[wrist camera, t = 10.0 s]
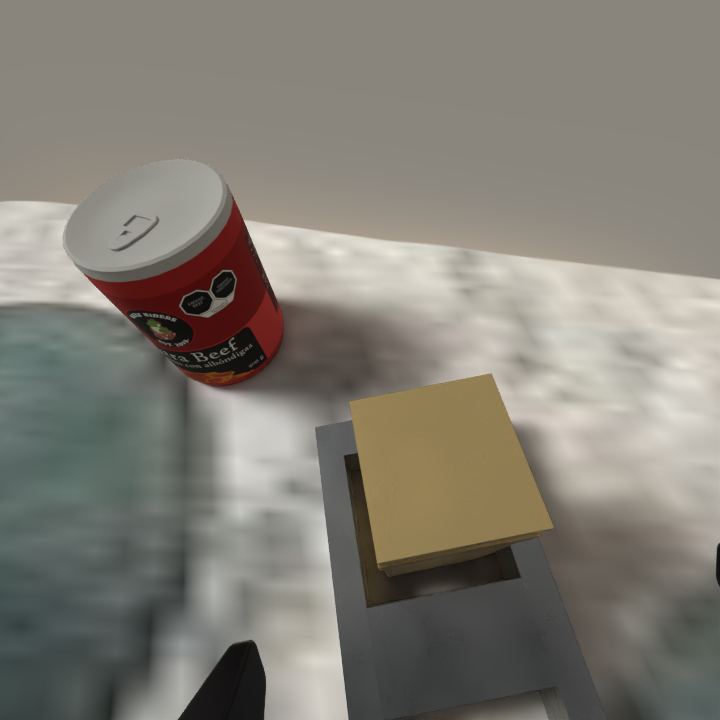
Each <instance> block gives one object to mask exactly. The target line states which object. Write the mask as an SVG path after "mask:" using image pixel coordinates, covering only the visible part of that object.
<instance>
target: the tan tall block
mask: <svg viewBox="0 0 720 720" xmlns="http://www.w3.org/2000/svg"><path fill="white" fill-rule="evenodd" d="M349 404H350V410H351V416H352V421H353V427H354V433H355V439H356V444H357V450H358V456H359V462H360V468H361V473H362V479H363V485H364V491H365V496H366V502H367V508H368V514H369V519H370V525H371V531H372V537H373V542H374V548H375V554H376V560H377V565H378V569H379V570H383V571H384V572H385V573H386V574H387V575H388V577H390V576H395V575H400V574H405V573H410V572H415V571H420V570H425V569H430V568H434V567H439V566H444V565H449V564H454V563H459V562H464V561H469V560H474V559H478V558H481V557H483V556H486V555H488V554H491V553H493V552H496V551H498V550H501V549H503V548H505V547H508V546H510V545H513V544H515V543H518V542H523V541H528V540H531V539H534V538H536V537H539V536H541V533H542V532H545V531H547V530H550V529H552V528H554V527H553V524H552V522H551V519H550V517H549V514H548V512H547V509H546V507H545V504H544V502H543V499H542V497H541V494H540V492H539V490H538V487H537V485H536V482H535V480H534V477H533V475H532V472H531V470H530V467H529V465H528V462H527V460H526V457H525V455H524V453H523V450H522V448H521V445H520V443H519V440H518V438H517V435H516V433H515V430H514V428H513V425H512V423H511V420H510V418H509V416H508V413H507V411H506V408H505V406H504V403H503V401H502V398H501V396H500V393H499V391H498V388H497V386H496V383H495V381H494V378H493V376H492V374H486V375H481V376H476V377H471V378H466V379H461V380H456V381H451V382H446V383H440V384H435V385H430V386H425V387H420V388H415V389H410V390H405V391H400V392H395V393H390V394H385V395H379V396H374V397H369V398H364V399H359V400H354V401H349Z"/></svg>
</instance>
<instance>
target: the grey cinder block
mask: <svg viewBox="0 0 720 720" xmlns="http://www.w3.org/2000/svg"><path fill="white" fill-rule="evenodd" d="M315 430H316V439H317V448H318V456H319V465H320V474H321V482H322V491H323V500H324V509H325V517H326V526H327V535H328V543H329V552H330V561H331V569H332V578H333V587H334V596H335V604H336V613H337V622H338V630H339V639H340V648H341V656H342V665H343V674H344V682H345V691H346V700H347V709H348V717H349V720H393V719H398V718H403V717H408V716H412V715H417V714H422V713H427V712H432V711H437V710H442V709H447V708H452V707H457V706H462V705H467V704H472V703H477V702H482V701H487V700H491V699H496V698H501V697H506V696H511V695H516V694H521V693H526V692H531V691H536V690H540V693H541V696H542V699H543V702H544V705H545V708H546V711H547V715H548V718H549V720H607V719H606V717H605V714H604V711H603V709H602V706H601V704H600V701H599V698H598V696H597V693H596V690H595V688H594V685H593V682H592V680H591V677H590V674H589V672H588V669H587V666H586V664H585V661H584V658H583V656H582V653H581V650H580V648H579V645H578V642H577V640H576V637H575V634H574V632H573V629H572V627H571V624H570V621H569V619H568V616H567V613H566V611H565V608H564V605H563V603H562V600H561V597H560V595H559V592H558V589H557V587H556V584H555V581H554V579H553V576H552V573H551V571H550V568H549V565H548V563H547V560H546V557H545V555H544V552H543V550H542V547H541V544H540V542H539V539H538V537H536V538H534V539H531V540H528V541H523V542H518V543H515V544H513V545H510V546H508V547H505V548H503V549H501V550H498V551H496V554H497V557H498V561H499V564H500V567H501V570H502V573H503V576H504V580H499V581H494V582H489V583H484V584H479V585H474V586H469V587H464V588H459V589H454V590H449V591H444V592H439V593H434V594H428V595H423V596H418V597H413V598H408V599H403V600H398V601H393V602H388V603H383V604H378V605H373V606H371V601H370V595H369V588H368V582H367V575H366V569H365V562H364V556H363V550H362V543H361V537H360V530H359V524H358V518H357V511H356V505H355V498H354V492H353V485H352V479H351V473H350V471H354V470H359V469H361V468H360V462H359V456H358V450H357V444H356V439H355V433H354V427H353V421H346V422H341V423H336V424H331V425H326V426H321V427H315Z"/></svg>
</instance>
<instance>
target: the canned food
mask: <svg viewBox="0 0 720 720" xmlns="http://www.w3.org/2000/svg"><path fill="white" fill-rule="evenodd" d="M63 247H64V249H65V251H66V253H67V256H68V257H69V258H70V259H71V260H72V261H73V262H74V264H75V266H76V267H77V268H78V269H79V270H80V271H81V272H82V273H83V274H84V275H85V276H86V277H87V278H88V279H89V280H90V281H91V282H92V283H93V284H94V285H95V286H96V287H97V288H98V289H99V290H100V291H101V292H102V293H103V294H104V295H105V296H106V297H107V298H108V299H109V300H110V301H111V302H112V303H113V304H114V305H115V306H116V307H117V308H118V309H119V310H120V311H121V312H122V313H123V314H124V315H125V316H126V317H127V318H128V319H129V320H130V321H131V322H132V323H133V324H134V325H135V326H136V327H137V328H138V329H139V330H140V331H141V332H142V333H143V334H144V335H145V336H146V337H147V338H148V339H149V340H150V341H151V342H152V343H153V344H154V345H155V346H156V347H157V348H158V349H159V350H160V351H161V352H163V353H164V354H165V355H166V356H167V357H168V358H169V359H170V360H171V361H172V362H173V363H174V364H175V365H176V366H177V367H178V368H179V369H180V370H181V371H182V372H183V373H184V374H185V375H186V376H188V377H190V378H191V379H193V380H196V381H198V382H201V383H205V384H208V385H216V386H223V385H231V384H234V383H238V382H241V381H243V380H246V379H248V378H250V377H252V376H253V375H255V374H256V373H258V372H259V371H261V370H262V369H263V368H264V367H265V366H266V365H267V364H268V363H269V362H270V361H271V360H272V358H273V357H274V356H275V354H276V352H277V350H278V348H279V347H280V344H281V340H282V337H283V315H282V311H281V309H280V307H279V304H278V302H277V299H276V297H275V295H274V292H273V290H272V287H271V285H270V283H269V280H268V278H267V275H266V273H265V271H264V268H263V266H262V263H261V261H260V259H259V256H258V254H257V251H256V249H255V247H254V244H253V242H252V240H251V237H250V235H249V232H248V230H247V228H246V225H245V223H244V220H243V218H242V216H241V214H240V211H239V209H238V207H237V205H236V203H235V200H234V198H233V196H232V193H231V191H230V189H229V187H228V185H227V184H226V183H225V180H224V178H223V176H222V175H221V174H220V173H219V172H218V171H217V170H216V169H215V168H213V167H211V166H210V165H208V164H205V163H202V162H199V161H194V160H186V159H174V160H173V159H171V160H164V161H157V162H154V163H149V164H145V165H142V166H139V167H136V168H134V169H131V170H128V171H126V172H124V173H122V174H119V175H118V176H115V177H113V178H112V179H110V180H109V181H107V182H105V183H104V184H102V185H101V186H99V187H98V188H97V189H96V190H94V191H93V192H91V193H90V194H89V195H88V196H87V197H86V198H85V199H84V200H83V201H82V202H81V203H80V204H79V205H78V206H77V207H76V209H75V210H74V211H73V213H72V214H71V216H70V217H69V219H68V221H67V223H66V225H65V229H64V233H63Z"/></svg>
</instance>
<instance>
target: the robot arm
mask: <svg viewBox="0 0 720 720" xmlns="http://www.w3.org/2000/svg"><path fill="white" fill-rule="evenodd" d="M716 579H717V582H718V584H719V586H720V543H719V544H718V546H717V558H716ZM265 695H266V676H265V671H264V668H263V665H262V662H261V658H260V655H259V652H258V649H257V646H256V644H255V642H254V641H253V640H247V641H242V642H237V643H234V644H232V645H231V646H230V647H229V648H228V649H227V651H226V652H225V653H224V655H223V656H222V658H221V659H220V661H219V662H218V663H217V665H216V666H215V668H214V669H213V671H212V672H211V673H210V675H209V676H208V678H207V679H206V680H205V682H204V683H203V685H202V686H201V688H200V689H199V690H198V692H197V693H196V695H195V696H194V698H193V699H192V700H191V702H190V703H189V705H188V706H187V708H186V709H185V710H184V712H183V713H182V715H181V716H180V717H179V719H178V720H264V710H265Z"/></svg>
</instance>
